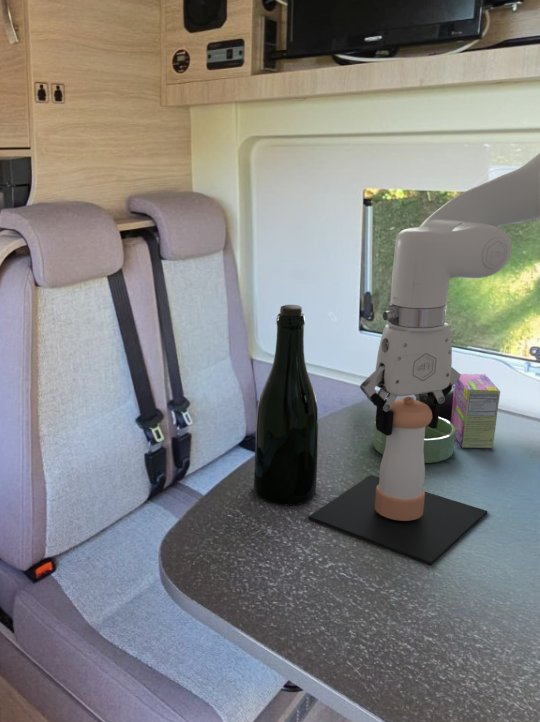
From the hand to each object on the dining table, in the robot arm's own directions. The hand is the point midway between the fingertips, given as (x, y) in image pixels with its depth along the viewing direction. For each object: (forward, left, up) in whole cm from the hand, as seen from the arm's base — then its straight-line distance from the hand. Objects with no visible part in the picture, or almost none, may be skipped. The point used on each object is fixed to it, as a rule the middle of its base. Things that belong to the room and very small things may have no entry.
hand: (406, 428), depth 110 cm
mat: (0, 0, -15) cm, 15 cm away
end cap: (+13, -44, -15) cm, 48 cm away
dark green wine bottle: (+18, +5, -15) cm, 24 cm away
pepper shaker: (0, 0, -14) cm, 14 cm away
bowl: (+10, -26, -15) cm, 32 cm away
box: (+4, -38, -15) cm, 41 cm away
